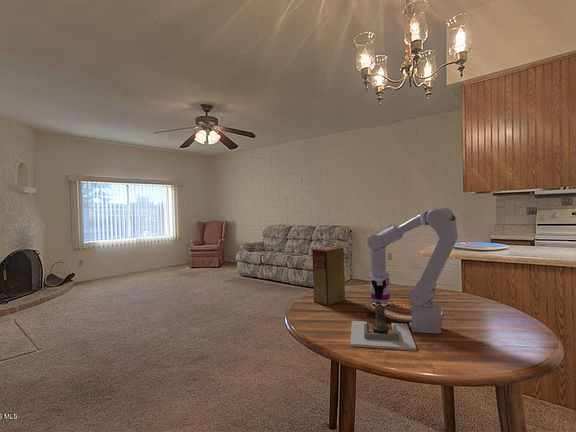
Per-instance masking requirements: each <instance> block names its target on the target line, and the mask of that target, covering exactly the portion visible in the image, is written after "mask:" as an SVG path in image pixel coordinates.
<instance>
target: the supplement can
mask: <svg viewBox="0 0 576 432" xmlns="http://www.w3.org/2000/svg"><path fill="white" fill-rule="evenodd" d="M369 275H371V273H370V274H369ZM386 276H387V278H386V279H385V280H386V286H385V288H384V291H383V296H382V300H380V299H376V296H375V291H374V287H373V285H372V283H371V280H373V279H372V278H369V279H370V304H372V303H376V304H379V303H381V304H386V303H388V302H390V303H391V295H390V294H391V287H390V285H391V283H390V281H391V280H390V274H389V270H386Z"/></svg>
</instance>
